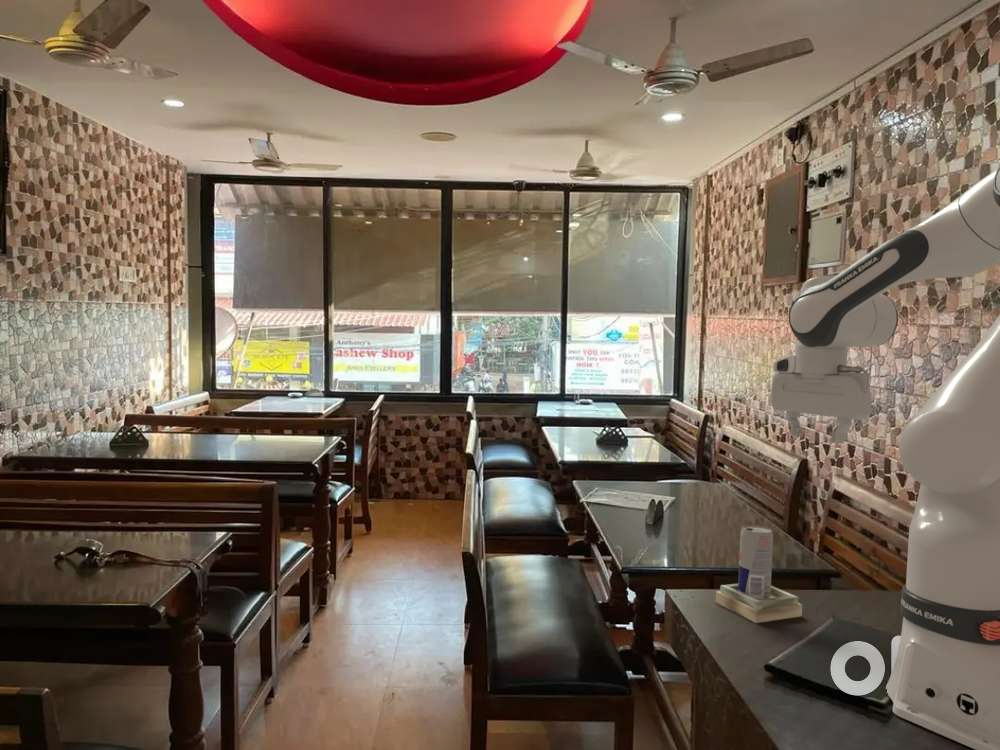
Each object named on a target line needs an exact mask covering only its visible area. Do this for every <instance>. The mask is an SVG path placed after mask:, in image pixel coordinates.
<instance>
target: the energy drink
mask: <svg viewBox="0 0 1000 750" xmlns="http://www.w3.org/2000/svg"><path fill="white" fill-rule="evenodd" d="M740 530H741V531H740V534H739V537H740V538H739V539H740V540H739V560H738V575H737V576H738V577H737V578H738V579H737V581H738V582H737V583H738V591H739V592H741V593H744V594H746V595H748V596H750V597H752V598H754V599H757V600H761V599H769V598H770V591H771V586H772V570H773V567H772V565H773V547H774V534H773V530H772V529H771V528H768V527H764V526H759V525H744V526H742V527H741V529H740Z"/></svg>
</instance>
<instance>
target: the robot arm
mask: <svg viewBox="0 0 1000 750" xmlns="http://www.w3.org/2000/svg"><path fill="white" fill-rule="evenodd" d="M999 265H1000V165H999V166H998V168H997V169H995V170H994V171H992V172H991V173H989V174H987V175H986V176H985V177H983V178H982V179H980V180H979V181H978V182H976V183H975V184H973V185H972V186H970V188H968V189H967V190H965V192H963V193H961V194H960V196H958V197H957V198H955V199H954V200H952V201H951V203H949V204H948V205H946V206H945V207H943V208H942V209H940V210H939V211H937V212H936V213H935V214H933V215H931V216H930V217H928V218H926V219H925V220H924V221H922V222H920V223H919V224H916V225H915V226H913V227H910V228H909V229H908V230H906V231H904V232H901V233H900V234H897V235H896V236H894V237H892V238H890V239H888V240H887V241H885V242H883V243H882V244H881V245H879V246H878V247H876V248H874V249H873V250H872V251H870V252H868V253H867V254H866V255H864V256H863V257H861V258H860V259H858V260H857V261H856V262H854V263H853V264H851V265H850V266H848V267H847V268H845V269H844V270H842V271H841V272H840V273H838V274H825V275H817V276H814V277H811V278H809V279H807V280H806V281H804V282H803V284H802V286H801V289H800V292H799V294H798V295H797V297H796V298H795V299H794V300H793V302H792V304H791V307H790V308H789V312H788V324H789V328H790V330H791V332H792V334H793V335H794V337H795V338H796V339H797V340H796V342H795V345H794V346H795V348H794V349H795V350H794V353H792V354H790V355H787V356H785V357H782V358H780V359H778V360H775V361H774V362H773V364H772V365H773V366H772V367H773V368H772V369H773V372H774V373H775V374H774V376H773V378H772V381H771V389H770V403H771V407H772V408H773V409H774V410H775V411H780V412H781V411H783V412H786V414H785V415H786V416H785V417H786V420H787V422H788V424H789V426H790V432H789V433H790V436H791V437H803V436H804V426H801V425H800V421H799V418H800V417H801V414H806V415H816V416H821V417H822V416H823V417H832V418H836V421H835V422H836V424H838V426H837V428H836V430H835V431H834V432H830V437H831V438H830V442H831V443H835V444H844V443H845V442H846V441H845V440H846V439H845V438H846V433H847V432H848V430H849V428H851V426H852V420H867V419H868V418H869V417H870V416H871V414H872V395H871V387H870V374H869V373H868V372H867V370H866V369H864V368H863V367H862V366H857V365H856V366H855V365H854V366H851V365H847V364H848V350H849V349H848V348H873V347H879V346H882V345H885V344H886V343H887V342H888V341H890V340H891V339H892V337H893V336H894V334H895V333H896V330H897V328H898V323H899V313H898V309H897V305H896V304H895V302H894V301H893V299H892V298H891V297H889V296H888V295H886V294H884V293H886V291H889V290H891V289H893V288H895V287H897V286H900V285H904V284H909V283H911V282H918V281H925V280H934V279H936V280H937V279H949V278H953V279H954V278H964V277H972V276H975V275H977V274H981V273H982V272H986V271H988V270H990V269H992V268H994V267H996V266H999ZM898 453H899V456H900V461H901V463H902V465H903V468H904V469H905V470H906V472H907V473H908V474H909V475H910V477H912V479H914V480H915V481H917V482H918V483H919V484H920V486H919V491H918V496H917V500H916V505H915V509H914V512H913V516H912V519H911V521H910V524H909V527H908V542H907V543H908V544H907V546H908V547H907V563H906V578H905V579H906V580H905V582H906V583H905V584H904V585H903V586H902V588H901V598H900V615H901V620H902V625H901V633H900V639H899V645H898V650H897V654H896V658H895V661H894V665H893V669H892V671H891V674H890V676H889V679H888V681H887V684H886V686H885V690H886V689H887V692H886V694H887V693H888V694H887V695H888V697H889V698H890V699H891V701H892V703H893V705H892V712H893V714H895V715H896V716H897V717H900V718H902V719H904V720H907V721H908V722H912V723H913V724H916V725H918V726H921V727H922V728H925V729H927V730H929V731H932V732H934V733H936V734H938V735H941V736H943V737H946V738H948V739H950V740H952V741H955V742H957V743H959V744H961V745H965V746H966V747H969V748H971V749H974V750H1000V314H999V315H998V316H997V317H996V319H995V320H994V321H993V323H992V324H991V326H990V327H989V328H988V329H987V331H986V332H985V334H984V335H983V337H982V338H981V339H980V340H979V342H978V343H977V344H976V346H975V347H974V348H973V349H972V351H970V352H969V354H968V355H967V356H966V357H965V358H963V360H962V361H961V362H960V363H959V364H958V365H957V366H956V367H955V369H954V370H953V371H951V373H950V374H949V375H948V376H947V377H946V379H945V380H944V381H943V382H942V383H941V384H940V386H939V387H937V389H936V390H935V391H934V392H933V394H932V395H931V396H930V397H929V398H928V400H927V401H926V402H925V403H924V404H923V406H922V407H921V408H920V409H919V410H918V412H916V414H915V415H914V417H912V419H911V420H910V421H909V422H908V423H907V425H906V426H905V428H904V429H903V431H902V433H901V436H900V439H899V444H898Z"/></svg>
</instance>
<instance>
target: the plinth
mask: <svg viewBox="0 0 1000 750" xmlns="http://www.w3.org/2000/svg"><path fill="white" fill-rule="evenodd" d="M719 587H720V588H719V589H720V590H719V591H718V590H717V591H716V592H715V603H716V604H718V605H719V606H721V607H723V608H725V609H727V610H729V611H731V612H733V613H734V614H735V613H736V614H737V615H738V616H741V617H743V618H745V619H747V620H749V621H751V622H753V623H754V624H760V623H767V622H771V621H772V622H773V621H780V620H785V619H793V618H798V617H799V618H800V617H802V615H803V604H801V603H800V602H799V596H797V595H795V594H792V593H790V592H788V591H785V590H784V589H783V590H782V589H780V588H778V587H775V586H774V585H771V591H770V598H769V599H761V600H757V599H754V598H752V597H750V596H748V595H746V594H744V593H741V592H739V591H738V582H737V583H730V584H721V585H720V586H719Z"/></svg>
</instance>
